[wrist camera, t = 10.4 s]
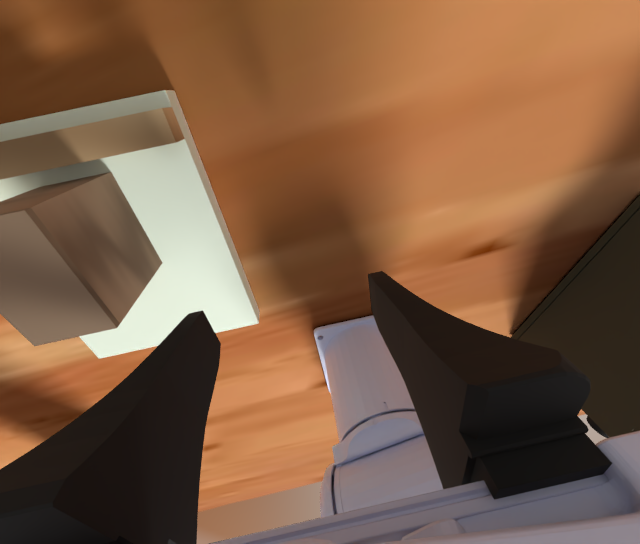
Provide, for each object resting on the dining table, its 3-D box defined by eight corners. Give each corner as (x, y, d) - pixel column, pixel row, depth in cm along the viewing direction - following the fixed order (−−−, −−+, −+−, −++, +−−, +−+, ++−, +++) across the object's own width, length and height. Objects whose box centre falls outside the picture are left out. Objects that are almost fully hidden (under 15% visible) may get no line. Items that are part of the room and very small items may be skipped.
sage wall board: (259, 311, 24) (258, 323, 23) (108, 344, 24) (99, 358, 22) (174, 90, 15) (164, 90, 14) (-65, 140, 15) (-96, 144, 14)
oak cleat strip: (184, 138, 15) (176, 142, 14) (-55, 189, 15) (-85, 197, 14) (171, 107, 14) (161, 108, 13) (-82, 160, 14) (-117, 166, 13)
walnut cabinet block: (162, 263, 19) (117, 328, 13) (103, 275, 19) (34, 346, 13) (111, 171, 16) (24, 210, 10) (39, 186, 15) (-85, 233, 10)
